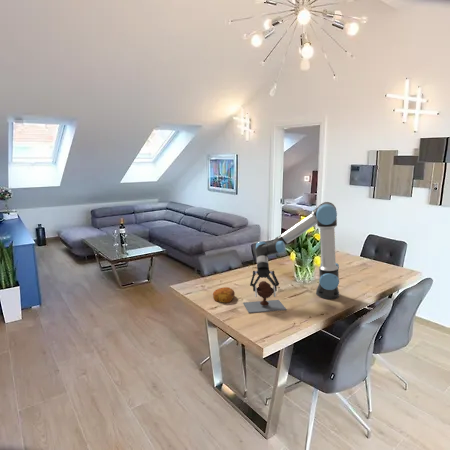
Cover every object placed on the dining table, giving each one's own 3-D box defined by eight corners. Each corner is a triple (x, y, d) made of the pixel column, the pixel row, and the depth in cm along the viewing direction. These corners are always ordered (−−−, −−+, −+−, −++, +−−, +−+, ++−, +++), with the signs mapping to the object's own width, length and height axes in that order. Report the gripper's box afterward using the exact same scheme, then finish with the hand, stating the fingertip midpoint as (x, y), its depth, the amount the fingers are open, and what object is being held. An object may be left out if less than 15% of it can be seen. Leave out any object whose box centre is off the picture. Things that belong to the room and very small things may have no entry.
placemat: (278, 300, 220) (278, 299, 220) (286, 310, 207) (286, 309, 207) (243, 303, 216) (243, 302, 216) (248, 313, 202) (248, 312, 202)
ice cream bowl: (272, 308, 205) (273, 285, 202) (254, 306, 207) (255, 283, 204) (273, 300, 215) (274, 278, 212) (256, 299, 217) (257, 277, 214)
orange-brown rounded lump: (236, 298, 229) (237, 286, 228) (231, 304, 214) (232, 292, 213) (216, 295, 232) (216, 284, 232) (209, 301, 217) (210, 289, 217)
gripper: (279, 266, 222) (283, 298, 210) (244, 266, 222) (246, 298, 210) (281, 261, 216) (285, 293, 204) (245, 261, 215) (247, 294, 203)
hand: (265, 296), depth 207 cm, fingers closed on ice cream bowl, 11 cm apart
